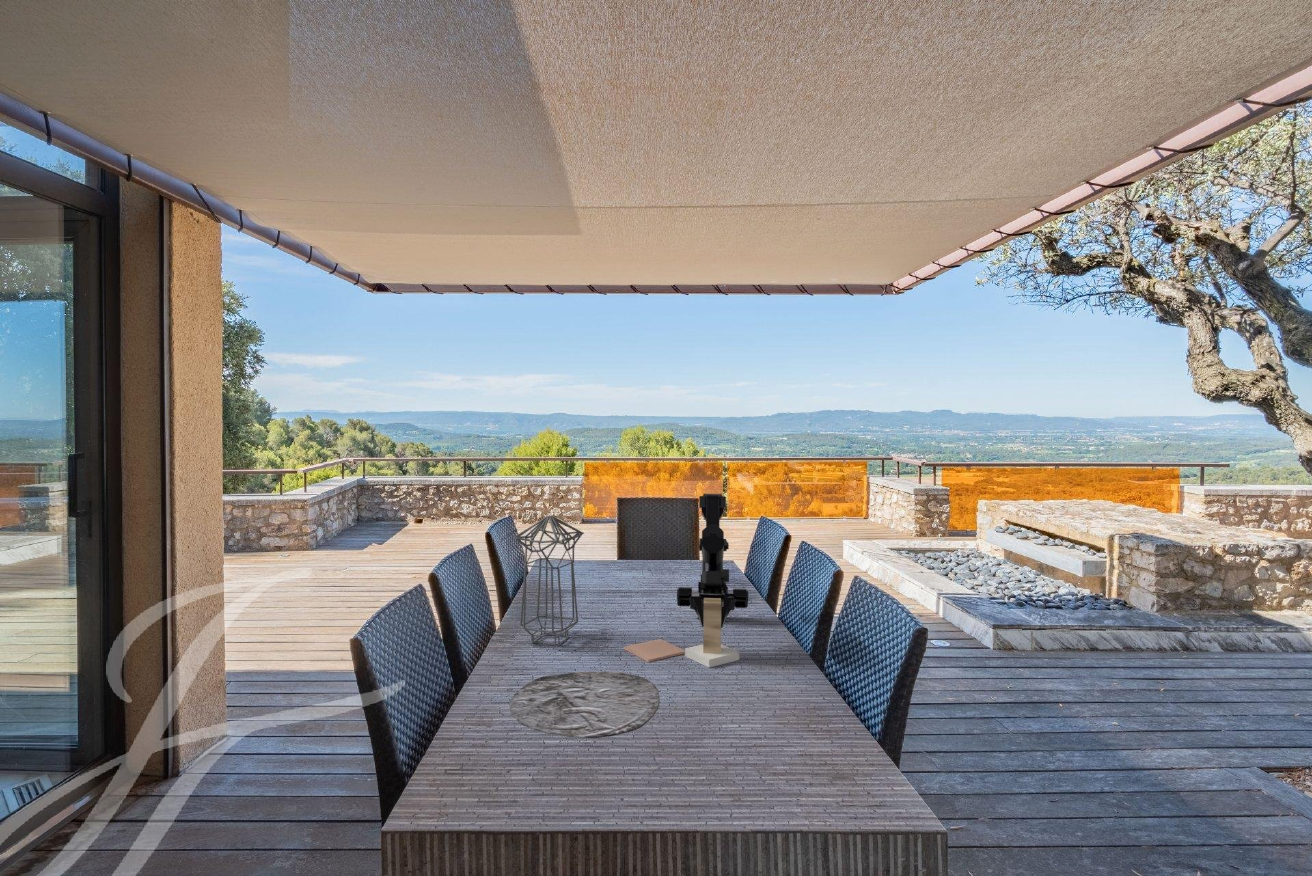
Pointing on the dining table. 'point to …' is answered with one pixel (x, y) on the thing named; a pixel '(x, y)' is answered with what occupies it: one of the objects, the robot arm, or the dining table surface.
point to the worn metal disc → (586, 704)
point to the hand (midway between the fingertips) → (712, 626)
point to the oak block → (712, 625)
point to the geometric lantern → (540, 527)
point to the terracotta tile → (654, 650)
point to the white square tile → (712, 655)
